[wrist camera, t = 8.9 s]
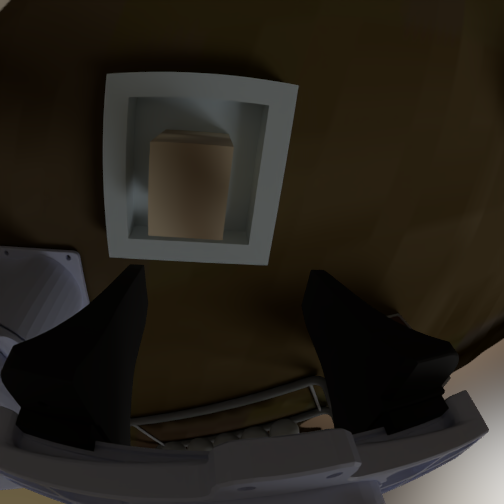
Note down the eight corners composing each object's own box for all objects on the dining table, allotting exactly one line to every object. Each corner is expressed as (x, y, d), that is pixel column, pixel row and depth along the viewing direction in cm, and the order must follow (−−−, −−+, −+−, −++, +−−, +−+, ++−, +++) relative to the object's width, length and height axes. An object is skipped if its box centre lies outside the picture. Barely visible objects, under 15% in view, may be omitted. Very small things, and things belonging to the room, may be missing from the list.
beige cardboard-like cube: (161, 202, 19) (148, 235, 15) (165, 129, 17) (150, 141, 13) (219, 206, 20) (222, 240, 16) (228, 133, 18) (234, 146, 13)
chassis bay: (118, 240, 21) (109, 257, 19) (119, 75, 15) (106, 73, 13) (261, 247, 23) (267, 265, 21) (288, 86, 17) (298, 85, 15)
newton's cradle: (155, 445, 39) (155, 538, 24) (116, 418, 34) (107, 528, 19) (335, 404, 38) (371, 509, 22) (325, 368, 32) (373, 503, 17)
